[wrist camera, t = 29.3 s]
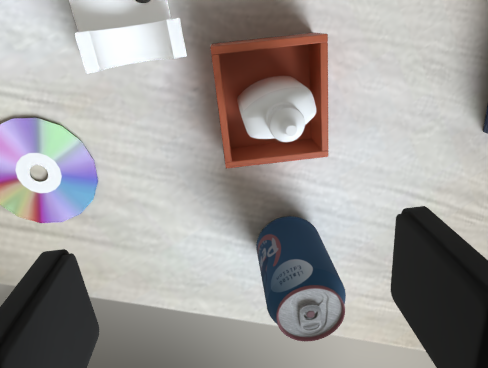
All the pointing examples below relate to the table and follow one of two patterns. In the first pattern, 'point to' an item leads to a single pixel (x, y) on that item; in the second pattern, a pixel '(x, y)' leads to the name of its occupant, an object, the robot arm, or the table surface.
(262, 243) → the soda can
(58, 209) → the cd
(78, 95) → the table surface
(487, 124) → the navy bin
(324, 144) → the terracotta bin
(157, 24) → the bracket
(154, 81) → the table surface
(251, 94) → the eye dropper bottle
